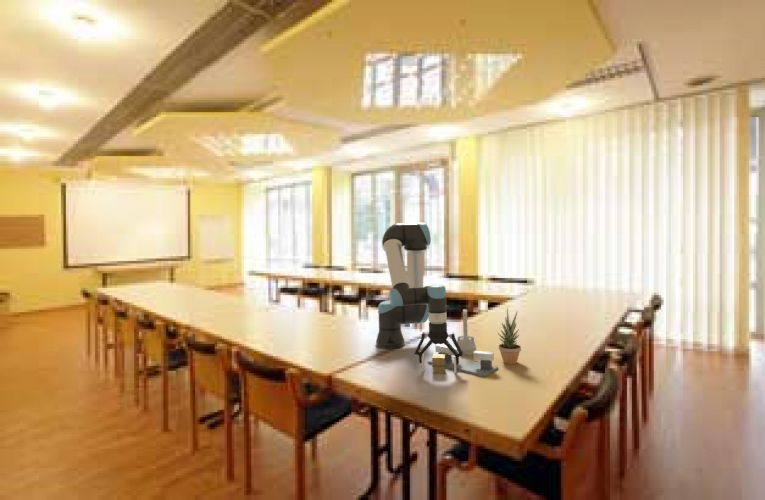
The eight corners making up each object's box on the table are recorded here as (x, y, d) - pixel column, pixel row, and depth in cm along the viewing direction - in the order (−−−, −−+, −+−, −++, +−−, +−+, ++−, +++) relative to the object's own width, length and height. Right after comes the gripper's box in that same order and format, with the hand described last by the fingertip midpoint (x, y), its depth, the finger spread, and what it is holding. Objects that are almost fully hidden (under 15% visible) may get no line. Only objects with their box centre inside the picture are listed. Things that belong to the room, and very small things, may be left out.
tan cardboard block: (432, 374, 172) (432, 357, 172) (433, 369, 177) (433, 353, 177) (445, 374, 171) (444, 358, 171) (445, 370, 176) (445, 354, 176)
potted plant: (521, 359, 187) (520, 305, 185) (521, 366, 178) (520, 309, 176) (498, 357, 190) (497, 305, 188) (497, 364, 181) (496, 309, 180)
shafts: (435, 351, 188) (435, 345, 188) (442, 348, 192) (442, 342, 192) (489, 363, 170) (489, 356, 170) (496, 359, 174) (495, 352, 174)
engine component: (455, 354, 198) (476, 354, 196) (454, 312, 197) (475, 312, 195) (455, 347, 208) (476, 348, 206) (454, 307, 207) (475, 307, 205)
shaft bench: (428, 363, 185) (428, 353, 185) (443, 356, 194) (442, 347, 194) (484, 377, 167) (484, 366, 166) (498, 368, 176) (497, 358, 175)
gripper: (407, 323, 172) (408, 373, 173) (467, 324, 167) (469, 375, 168) (409, 319, 179) (411, 367, 181) (467, 320, 174) (469, 369, 175)
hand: (439, 371), depth 174 cm, fingers open, 13 cm apart
